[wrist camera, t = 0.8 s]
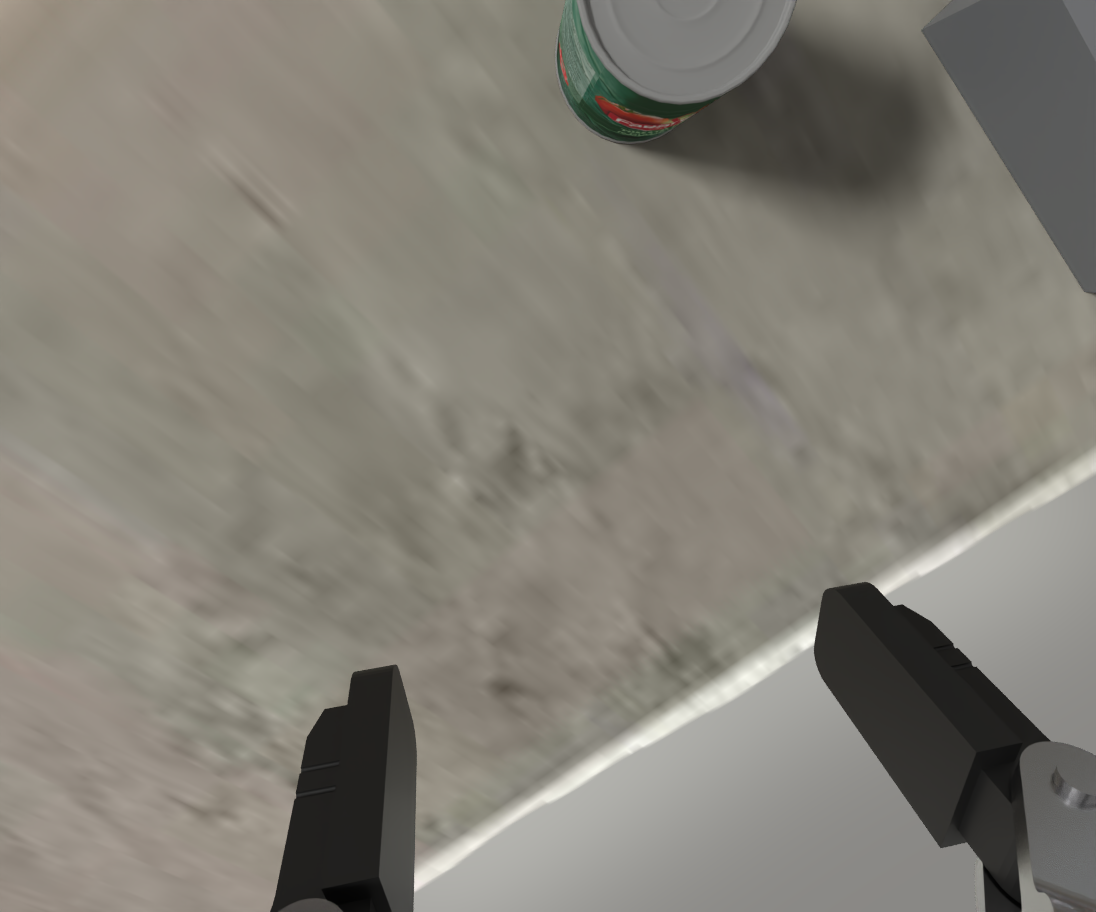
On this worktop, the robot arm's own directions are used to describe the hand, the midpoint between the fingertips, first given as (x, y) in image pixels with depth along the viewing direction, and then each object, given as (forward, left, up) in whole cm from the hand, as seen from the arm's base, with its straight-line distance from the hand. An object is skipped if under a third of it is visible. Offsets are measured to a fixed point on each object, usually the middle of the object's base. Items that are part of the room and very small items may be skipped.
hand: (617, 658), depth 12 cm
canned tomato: (-16, +1, -27) cm, 32 cm away
